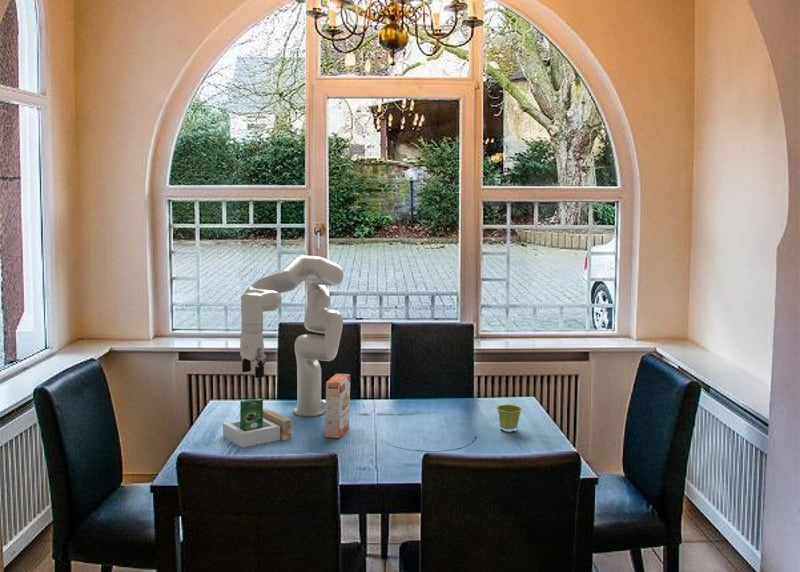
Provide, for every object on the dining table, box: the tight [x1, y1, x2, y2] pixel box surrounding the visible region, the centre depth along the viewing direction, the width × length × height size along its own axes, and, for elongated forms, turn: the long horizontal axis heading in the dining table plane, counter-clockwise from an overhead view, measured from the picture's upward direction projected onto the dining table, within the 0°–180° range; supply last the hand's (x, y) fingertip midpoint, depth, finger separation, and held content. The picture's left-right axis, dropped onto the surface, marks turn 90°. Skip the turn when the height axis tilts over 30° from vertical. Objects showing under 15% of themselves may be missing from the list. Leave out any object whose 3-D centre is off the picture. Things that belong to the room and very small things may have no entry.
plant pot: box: [496, 404, 523, 429], centre depth 305 cm, size 9×9×9 cm
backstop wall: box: [263, 407, 292, 441], centre depth 298 cm, size 3×18×7 cm, turn 38°
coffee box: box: [239, 397, 264, 431], centre depth 292 cm, size 8×3×13 cm, turn 128°
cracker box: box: [324, 373, 351, 439], centre depth 298 cm, size 14×6×21 cm, turn 168°
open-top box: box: [222, 418, 281, 448], centre depth 292 cm, size 15×15×5 cm
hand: (253, 374), depth 290 cm, fingers open, 9 cm apart
